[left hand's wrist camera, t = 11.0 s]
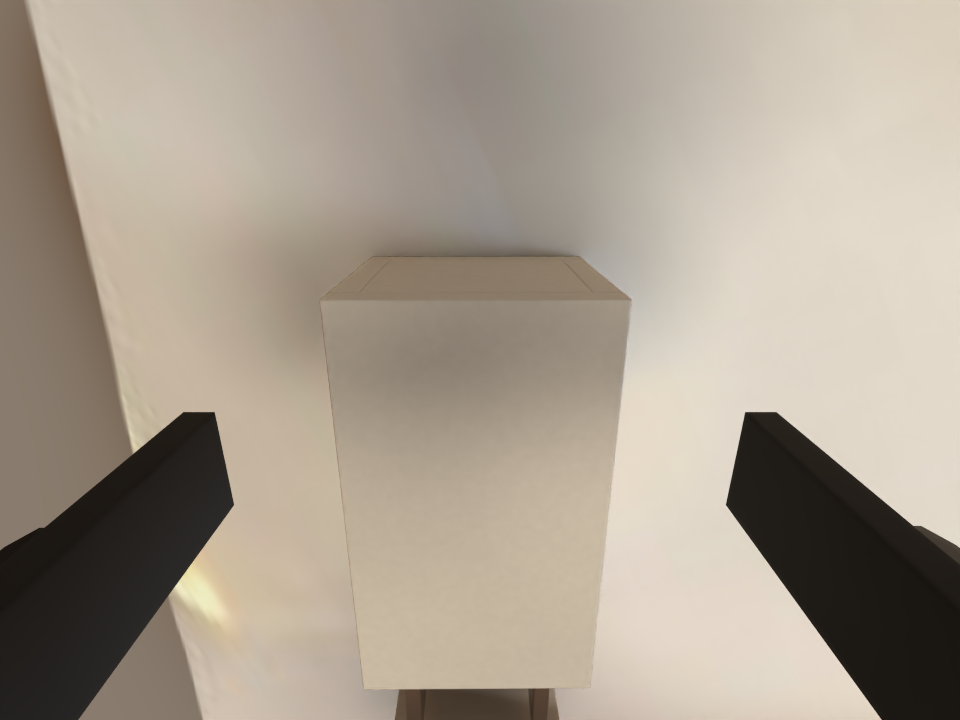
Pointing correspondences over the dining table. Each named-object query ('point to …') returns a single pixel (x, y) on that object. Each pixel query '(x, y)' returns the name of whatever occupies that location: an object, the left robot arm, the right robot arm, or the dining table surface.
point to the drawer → (477, 704)
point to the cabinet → (476, 464)
